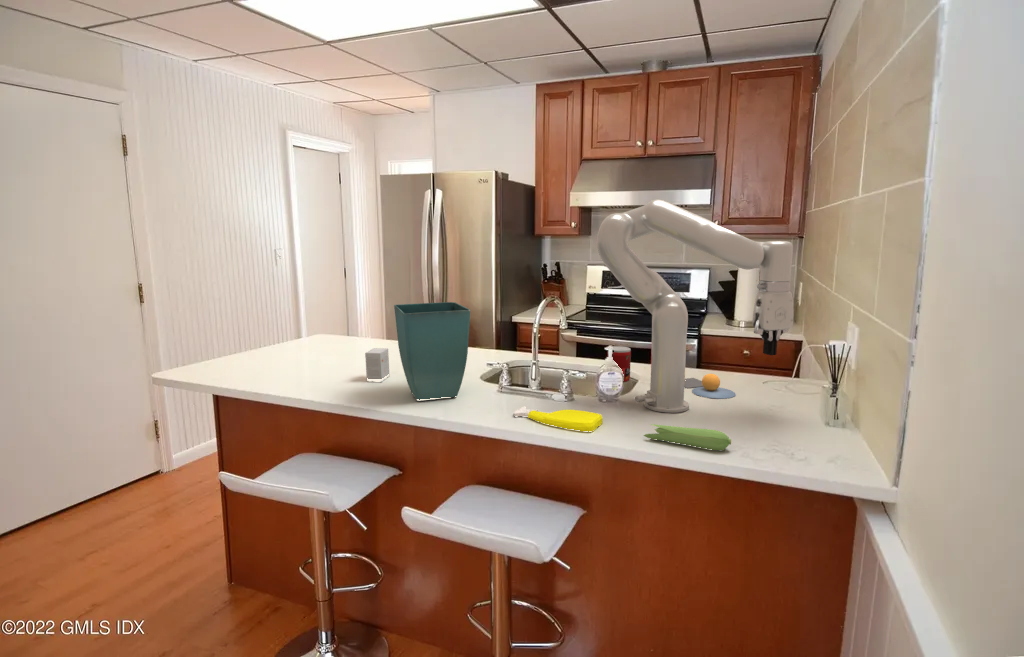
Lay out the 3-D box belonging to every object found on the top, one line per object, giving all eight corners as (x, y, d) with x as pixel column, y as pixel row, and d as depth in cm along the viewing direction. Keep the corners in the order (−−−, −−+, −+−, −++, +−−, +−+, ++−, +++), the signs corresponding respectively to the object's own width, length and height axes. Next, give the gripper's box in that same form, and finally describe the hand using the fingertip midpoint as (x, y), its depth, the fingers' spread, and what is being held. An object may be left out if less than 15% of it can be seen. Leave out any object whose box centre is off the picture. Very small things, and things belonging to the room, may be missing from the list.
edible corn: (729, 439, 125) (732, 427, 129) (641, 427, 135) (646, 417, 138) (729, 457, 127) (732, 445, 131) (643, 444, 137) (648, 434, 140)
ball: (697, 375, 180) (700, 392, 179) (706, 373, 174) (709, 390, 173) (712, 373, 181) (715, 390, 180) (721, 371, 176) (725, 388, 175)
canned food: (630, 382, 188) (630, 351, 186) (606, 381, 189) (606, 350, 187) (629, 377, 195) (630, 346, 193) (606, 376, 197) (607, 345, 195)
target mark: (709, 400, 167) (709, 400, 167) (683, 389, 179) (683, 388, 179) (744, 396, 171) (744, 395, 171) (717, 385, 183) (717, 385, 183)
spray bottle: (590, 436, 140) (506, 422, 152) (605, 423, 149) (525, 411, 162) (590, 425, 140) (506, 411, 152) (605, 412, 149) (525, 401, 161)
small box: (375, 376, 199) (373, 347, 197) (390, 376, 198) (388, 348, 197) (366, 382, 191) (364, 352, 190) (381, 382, 191) (380, 352, 189)
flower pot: (473, 400, 169) (471, 309, 164) (407, 408, 163) (403, 312, 158) (456, 384, 188) (454, 301, 183) (397, 390, 181) (393, 304, 176)
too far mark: (686, 388, 180) (686, 388, 180) (668, 380, 189) (668, 380, 189) (712, 385, 183) (712, 385, 183) (693, 378, 192) (693, 377, 192)
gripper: (762, 289, 143) (757, 359, 146) (807, 287, 147) (802, 354, 150) (741, 287, 150) (737, 353, 153) (785, 285, 154) (780, 349, 157)
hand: (769, 354), depth 151 cm, fingers closed
